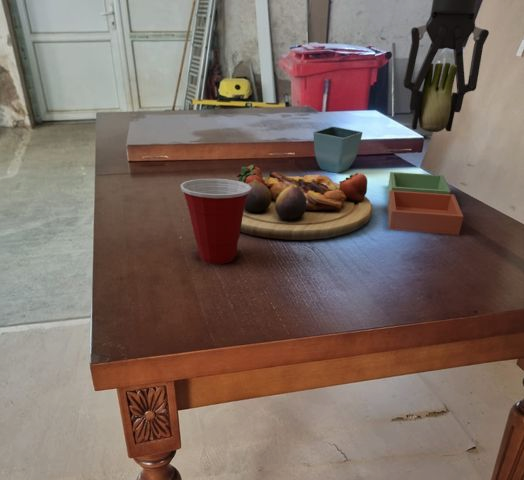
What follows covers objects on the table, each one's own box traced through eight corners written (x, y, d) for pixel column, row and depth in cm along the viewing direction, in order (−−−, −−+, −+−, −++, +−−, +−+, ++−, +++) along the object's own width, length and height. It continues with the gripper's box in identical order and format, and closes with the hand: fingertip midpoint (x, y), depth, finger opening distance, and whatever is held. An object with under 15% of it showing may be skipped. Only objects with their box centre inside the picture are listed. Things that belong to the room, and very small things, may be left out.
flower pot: (340, 177, 125) (344, 137, 120) (309, 170, 129) (312, 131, 124) (358, 169, 130) (363, 131, 125) (329, 163, 135) (332, 126, 130)
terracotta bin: (450, 212, 106) (454, 194, 104) (458, 235, 96) (463, 216, 94) (387, 207, 108) (389, 190, 106) (388, 229, 97) (392, 211, 95)
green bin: (440, 191, 117) (443, 175, 115) (446, 208, 108) (450, 191, 106) (387, 187, 119) (390, 171, 117) (389, 204, 109) (392, 187, 107)
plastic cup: (260, 249, 89) (261, 177, 82) (236, 275, 81) (236, 198, 74) (201, 240, 92) (198, 170, 85) (173, 264, 83) (167, 189, 77)
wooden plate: (370, 192, 116) (375, 153, 111) (373, 249, 90) (380, 202, 85) (228, 182, 119) (227, 144, 115) (191, 235, 93) (189, 189, 89)
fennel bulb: (411, 128, 105) (423, 61, 99) (430, 127, 107) (443, 60, 101) (431, 135, 101) (445, 64, 94) (450, 133, 103) (465, 63, 96)
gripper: (403, -15, 89) (383, 130, 102) (519, -12, 87) (483, 135, 100) (401, -14, 95) (382, 122, 108) (509, -12, 93) (476, 127, 106)
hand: (430, 128), depth 104 cm, fingers closed on fennel bulb, 6 cm apart
